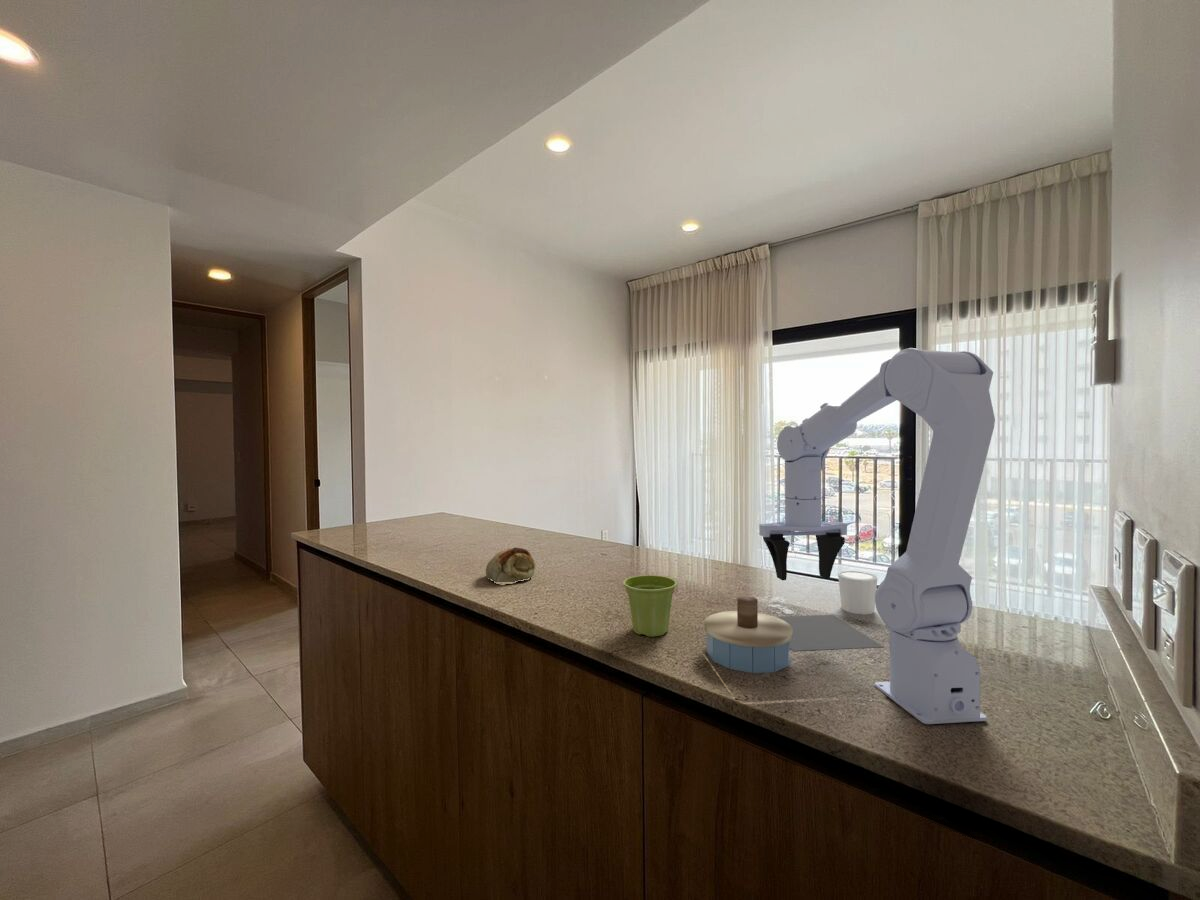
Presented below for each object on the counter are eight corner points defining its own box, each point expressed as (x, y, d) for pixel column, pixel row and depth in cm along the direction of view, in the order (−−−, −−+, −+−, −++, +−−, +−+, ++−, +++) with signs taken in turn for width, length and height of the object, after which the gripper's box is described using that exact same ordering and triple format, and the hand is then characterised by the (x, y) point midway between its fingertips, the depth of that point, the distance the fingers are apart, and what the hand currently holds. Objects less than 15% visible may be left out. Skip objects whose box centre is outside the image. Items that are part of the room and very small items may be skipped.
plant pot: (634, 644, 82) (633, 591, 82) (616, 624, 91) (616, 577, 91) (686, 637, 85) (685, 586, 84) (664, 619, 94) (664, 573, 94)
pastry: (516, 588, 115) (516, 553, 115) (472, 582, 120) (472, 549, 120) (547, 573, 128) (546, 542, 128) (506, 569, 133) (506, 539, 133)
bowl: (804, 672, 71) (804, 644, 71) (722, 676, 70) (722, 647, 70) (769, 639, 83) (769, 615, 83) (698, 642, 82) (698, 618, 82)
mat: (884, 648, 79) (884, 646, 79) (793, 652, 78) (793, 650, 78) (832, 616, 94) (832, 614, 94) (755, 619, 93) (755, 617, 93)
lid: (807, 646, 71) (807, 612, 71) (717, 648, 70) (716, 614, 70) (772, 614, 84) (772, 586, 84) (696, 616, 83) (695, 587, 83)
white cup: (882, 617, 93) (882, 580, 93) (843, 615, 95) (843, 578, 95) (870, 606, 100) (870, 571, 100) (833, 604, 101) (833, 569, 101)
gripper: (830, 494, 89) (830, 570, 89) (752, 496, 88) (752, 573, 88) (854, 499, 82) (854, 581, 82) (769, 500, 81) (769, 584, 81)
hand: (803, 578), depth 85 cm, fingers open, 7 cm apart
